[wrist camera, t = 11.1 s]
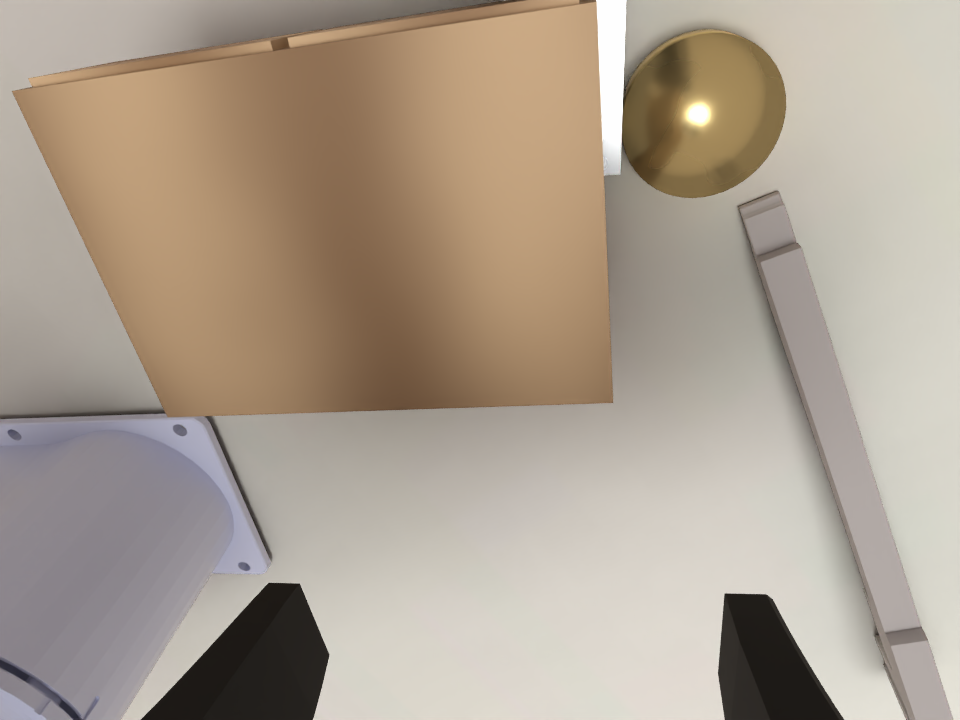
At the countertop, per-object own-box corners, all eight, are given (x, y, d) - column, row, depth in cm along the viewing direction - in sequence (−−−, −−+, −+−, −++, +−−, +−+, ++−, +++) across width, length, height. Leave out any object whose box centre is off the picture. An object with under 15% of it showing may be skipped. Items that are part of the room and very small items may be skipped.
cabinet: (278, 299, 20) (167, 417, 14) (195, 46, 16) (7, 82, 11) (605, 276, 18) (613, 402, 13) (592, -17, 14) (596, -11, 9)
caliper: (912, 661, 25) (1003, 850, 19) (881, 665, 25) (961, 852, 20) (775, 185, 16) (868, 289, 11) (731, 203, 17) (800, 311, 11)
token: (615, 185, 17) (617, 199, 16) (622, 33, 15) (626, 37, 14) (759, 182, 16) (770, 196, 15) (785, 23, 14) (800, 27, 13)
